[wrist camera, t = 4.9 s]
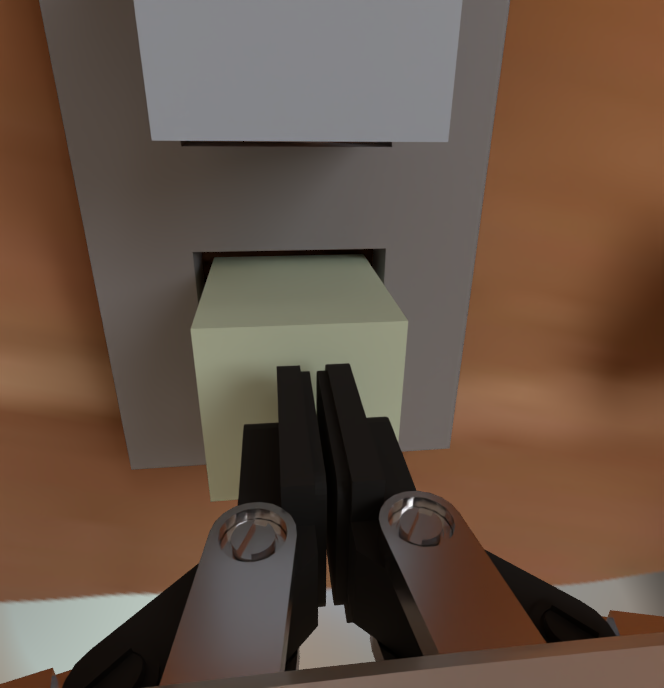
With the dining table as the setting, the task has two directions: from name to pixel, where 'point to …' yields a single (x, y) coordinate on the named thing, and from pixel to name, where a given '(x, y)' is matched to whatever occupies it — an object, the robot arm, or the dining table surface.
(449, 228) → the board
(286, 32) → the slate block
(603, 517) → the dining table surface
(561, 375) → the dining table surface
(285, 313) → the sage block
